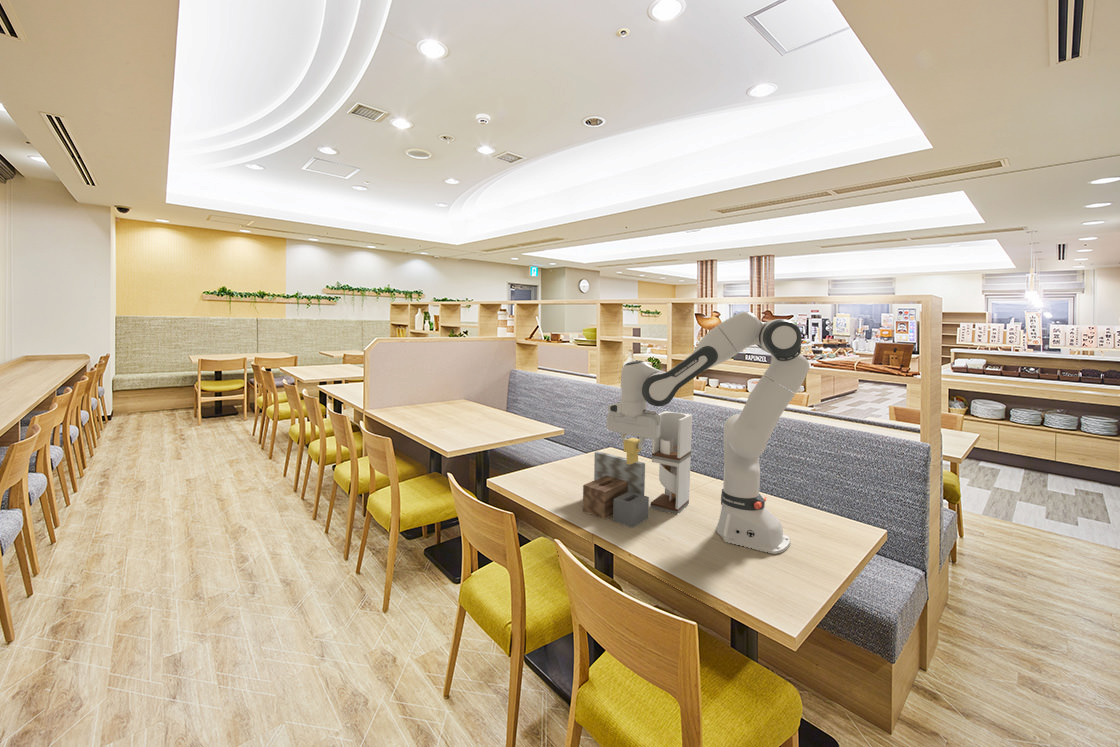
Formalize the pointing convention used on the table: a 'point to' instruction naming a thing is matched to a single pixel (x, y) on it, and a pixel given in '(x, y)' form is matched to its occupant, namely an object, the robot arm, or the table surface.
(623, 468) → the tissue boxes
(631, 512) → the dark gray slotted block
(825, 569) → the table surface
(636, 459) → the yellow tabbed block
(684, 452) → the display case
